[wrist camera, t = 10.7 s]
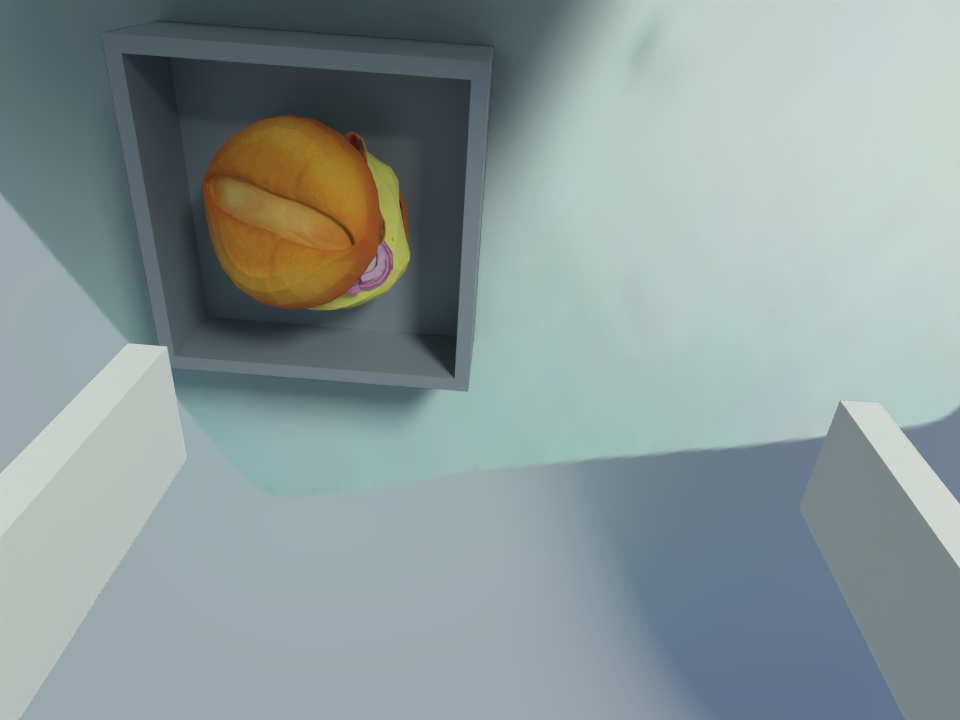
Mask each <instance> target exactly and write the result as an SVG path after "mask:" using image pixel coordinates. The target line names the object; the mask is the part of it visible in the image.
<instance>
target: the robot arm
mask: <svg viewBox="0 0 960 720" xmlns="http://www.w3.org/2000/svg"><path fill="white" fill-rule="evenodd" d="M186 459H187V455H186V450H185V444H184V439H183V433H182V427H181V422H180V416H179V411H178V405H177V399H176V394H175V388H174V382H173V377H172V371H171V365H170V360H169V354H168V349H167V346H154V345H142V344H129V343H128V344H127V345H126V346H125V347H124V348H123V349H122V350H121V351H120V352H119V353H118V354H117V355H116V356H115V357H114V358H113V359H112V360H111V361H110V362H109V363H108V365H106V366H105V367H104V368H103V369H102V371H101V372H100V373H99V374H98V375H97V376H96V377H95V378H94V379H93V380H92V381H91V382H90V383H89V384H88V385H87V386H86V387H85V388H84V389H83V390H82V391H81V392H80V393H79V394H78V395H77V396H76V397H75V398H74V399H73V400H72V401H71V402H70V403H69V404H68V405H67V406H66V407H65V408H64V409H63V410H62V411H61V412H60V413H59V414H58V415H57V416H56V417H55V419H54V420H53V421H52V422H51V423H50V424H49V425H48V426H47V427H46V428H45V429H44V430H43V431H42V432H41V433H40V434H39V435H38V436H37V437H36V438H35V439H34V440H33V441H32V442H31V443H30V444H29V445H28V446H27V447H26V448H25V449H24V450H23V451H22V452H21V453H20V454H19V455H18V456H17V457H16V458H15V459H14V460H13V462H11V464H10V465H8V467H6V469H5V470H4V471H3V472H2V473H1V474H0V720H19V719H20V717H21V715H22V714H23V712H24V711H25V709H26V708H27V706H28V705H29V703H30V702H31V700H32V698H33V697H34V695H35V694H36V692H37V691H38V689H39V687H40V686H41V684H42V683H43V681H44V679H45V678H46V676H47V675H48V674H49V672H50V671H51V669H52V667H53V666H54V664H55V662H56V661H57V660H58V658H59V656H60V655H61V653H62V652H63V650H64V649H65V647H66V646H67V644H68V643H69V641H70V639H71V638H72V636H73V635H74V633H75V632H76V630H77V628H78V627H79V625H80V624H81V622H82V620H83V619H84V618H85V616H86V615H87V613H88V611H89V610H90V608H91V607H92V605H93V604H94V602H95V601H96V599H97V597H98V596H99V594H100V593H101V591H102V590H103V588H104V587H105V585H106V584H107V582H108V580H109V579H110V577H111V576H112V574H113V573H114V571H115V570H116V568H117V566H118V565H119V563H120V562H121V560H122V559H123V557H124V556H125V554H126V553H127V551H128V549H129V548H130V546H131V545H132V543H133V541H134V540H135V539H136V537H137V535H138V534H139V532H140V531H141V529H142V528H143V526H144V524H145V523H146V521H147V520H148V518H149V517H150V515H151V514H152V512H153V511H154V509H155V507H156V506H157V504H158V503H159V501H160V500H161V498H162V497H163V495H164V494H165V492H166V490H167V489H168V487H169V486H170V484H171V483H172V481H173V480H174V478H175V476H176V475H177V473H178V472H179V470H180V469H181V467H182V466H183V464H184V462H185V461H186ZM799 509H800V511H801V513H802V515H803V517H804V519H805V521H806V523H807V525H808V527H809V529H810V531H811V533H812V535H813V537H814V539H815V541H816V543H817V545H818V547H819V549H820V551H821V553H822V555H823V557H824V559H825V561H826V563H827V565H828V567H829V569H830V571H831V573H832V575H833V577H834V579H835V581H836V583H837V585H838V587H839V589H840V591H841V593H842V595H843V597H844V599H845V601H846V603H847V605H848V607H849V609H850V611H851V613H852V615H853V617H854V619H855V621H856V623H857V625H858V627H859V629H860V631H861V633H862V635H863V637H864V639H865V641H866V643H867V645H868V647H869V649H870V651H871V653H872V655H873V657H874V659H875V661H876V663H877V665H878V667H879V669H880V671H881V673H882V675H883V677H884V679H885V681H886V682H887V685H888V686H889V689H890V691H891V692H892V695H893V697H894V699H895V701H896V703H897V705H898V707H899V709H900V711H901V713H902V715H903V716H904V718H905V720H960V504H959V503H958V502H957V500H956V499H955V498H954V496H953V495H952V494H951V493H950V491H949V490H948V489H947V488H946V487H945V485H944V484H943V483H942V481H941V480H940V479H939V478H938V476H937V475H936V474H935V473H934V471H933V470H932V469H931V468H930V466H929V465H928V464H927V462H925V460H924V459H923V457H922V456H921V455H920V454H919V452H918V451H917V450H916V449H915V447H914V446H913V445H912V444H911V442H910V441H909V440H908V439H907V437H906V436H905V435H904V434H903V432H902V431H901V430H900V428H899V427H898V426H897V425H896V423H895V422H894V421H893V420H892V418H891V417H890V416H889V415H888V413H887V412H886V411H885V410H884V408H883V407H882V406H881V405H880V404H879V403H867V402H854V401H842V400H840V402H839V405H838V407H837V410H836V413H835V415H834V418H833V420H832V423H831V426H830V428H829V431H828V433H827V436H826V439H825V442H824V444H823V447H822V449H821V452H820V454H819V457H818V460H817V462H816V465H815V467H814V470H813V472H812V475H811V478H810V480H809V483H808V486H807V488H806V491H805V493H804V496H803V499H802V501H801V504H800V506H799Z"/></svg>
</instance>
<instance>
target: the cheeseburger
mask: <svg viewBox="0 0 960 720" xmlns="http://www.w3.org/2000/svg"><path fill="white" fill-rule="evenodd" d="M203 196H204V205H205V213H206V218H207V223H208V228H209V233H210V237H211V240H212V243H213V247H214V250H215V253H216V255H217V257H218V260H219V263H220V268H223V270H224V271H225V272H226V274H227V275H228V278H227V281H229V282H231V283H232V284H234V285H235V286H237V288H239V289H240V290H242V291H243V292H245V293H247V294H248V295H250V296H251V297H253V298H254V299H256V300H258V301H259V302H261V303H263V304H266V305H270V306H275V307H279V308H284V309H311V310H336V309H340V308H346V309H350V308H353V307H356V306H359V305H362V304H365V303H367V302H369V301H370V300H373V299H377V298H379V297H380V296H382V295H383V294H385V293H386V292H387V291H389V290H390V288H391V287H392V286H393V285H394V284H395V283H396V282H397V281H398V279H399V278H400V277H401V276H402V274H403V273H404V272H405V270H406V268H407V265H408V263H409V260H410V251H409V247H408V243H407V238H408V227H407V215H406V204H405V200H404V198H403V196H402V194H401V193H400V191H399V180H398V179H397V177H396V175H395V174H394V172H393V170H392V169H391V167H390V166H388V165H386V164H384V163H382V162H381V161H380V160H378V159H377V158H376V157H374V156H373V155H372V154H370V153H369V152H367V150H366V146H365V143H364V141H363V139H362V138H361V137H360V136H359V135H357V134H356V133H353V132H350V133H348V134H347V135H346V137H345V138H344V137H343V136H342V135H341V134H340V133H339V132H337V131H335V130H333V129H332V128H330V127H328V126H326V125H325V124H323V123H321V122H319V121H318V120H316V119H311V118H305V117H300V116H294V115H284V116H276V117H268V118H263V119H261V120H259V121H256V122H254V123H252V124H250V125H248V126H246V127H245V128H243V129H242V130H240V131H239V132H238V133H236V134H235V135H233V136H232V137H230V138H229V139H228V140H227V141H226V142H225V143H224V145H223V146H222V147H221V148H220V149H219V150H218V151H217V152H216V153H215V155H214V157H213V159H212V161H211V163H210V164H209V166H208V169H207V171H206V173H205V176H204V179H203Z"/></svg>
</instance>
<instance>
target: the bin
mask: <svg viewBox="0 0 960 720" xmlns="http://www.w3.org/2000/svg"><path fill="white" fill-rule="evenodd" d="M101 38H102V43H103V49H104V54H105V60H106V65H107V70H108V76H109V81H110V87H111V92H112V97H113V103H114V108H115V113H116V119H117V124H118V130H119V135H120V140H121V146H122V151H123V156H124V162H125V167H126V173H127V178H128V183H129V189H130V194H131V199H132V205H133V210H134V216H135V221H136V226H137V232H138V237H139V242H140V248H141V253H142V259H143V264H144V269H145V275H146V280H147V285H148V291H149V296H150V302H151V307H152V312H153V318H154V323H155V328H156V334H157V339H158V345H159V346H167V349H168V354H169V360H170V365H171V368H177V369H190V370H203V371H215V372H228V373H241V374H253V375H266V376H279V377H291V378H304V379H317V380H329V381H342V382H355V383H367V384H380V385H393V386H405V387H418V388H431V389H443V390H456V391H468V387H469V377H470V368H471V359H472V350H473V341H474V326H475V312H476V297H477V283H478V268H479V254H480V239H481V225H482V210H483V195H484V181H485V166H486V152H487V137H488V123H489V108H490V94H491V79H492V65H493V50H494V46H484V45H471V44H458V43H445V42H432V41H419V40H405V39H392V38H379V37H366V36H353V35H340V34H326V33H313V32H300V31H287V30H274V29H261V28H248V27H234V26H221V25H208V24H195V23H182V22H169V21H155V22H150V23H145V24H140V25H135V26H131V27H126V28H121V29H116V30H111V31H106V32H102V33H101ZM284 115H294V116H300V117H305V118H311V119H316V120H318V121H319V122H321V123H323V124H325V125H326V126H328V127H330V128H332V129H333V130H335V131H337V132H339V133H340V134H341V135H342V136H343V137H344V138H345V137H346V135H347V134H348V133H350V132H353V133H356V134H357V135H359V136H360V137H361V138H362V139H363V141H364V143H365V146H366V150H367V152H369V153H370V154H372V155H373V156H374V157H376V158H377V159H378V160H380V161H381V162H382V163H384V164H386V165H388V166H390V167H391V169H392V170H393V172H394V174H395V175H396V177H397V179H398V180H399V191H400V193H401V194H402V196H403V198H404V200H405V204H406V215H407V227H408V238H407V243H408V247H409V251H410V260H409V263H408V265H407V268H406V270H405V272H404V273H403V274H402V276H401V277H400V278H399V279H398V281H397V282H396V283H395V284H394V285H393V286H392V287H391V288H390V290H389V291H387V292H386V293H385V294H383V295H382V296H380V297H379V298H377V299H373V300H370V301H369V302H367V303H365V304H362V305H359V306H356V307H353V308H350V309H346V308H340V309H336V310H311V309H284V308H279V307H275V306H270V305H266V304H263V303H261V302H259V301H258V300H256V299H254V298H253V297H251V296H250V295H248V294H247V293H245V292H243V291H242V290H240V289H239V288H237V286H235V285H234V284H232V283H231V282H229V281H227V278H228V275H227V274H226V272H225V271H224V270H223V268H220V263H219V260H218V257H217V255H216V253H215V250H214V247H213V243H212V240H211V237H210V233H209V228H208V223H207V218H206V213H205V205H204V196H203V179H204V176H205V173H206V171H207V169H208V166H209V164H210V163H211V161H212V159H213V157H214V155H215V153H216V152H217V151H218V150H219V149H220V148H221V147H222V146H223V145H224V143H225V142H226V141H227V140H228V139H229V138H230V137H232V136H233V135H235V134H236V133H238V132H239V131H240V130H242V129H243V128H245V127H246V126H248V125H250V124H252V123H254V122H256V121H259V120H261V119H263V118H268V117H276V116H284Z"/></svg>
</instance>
